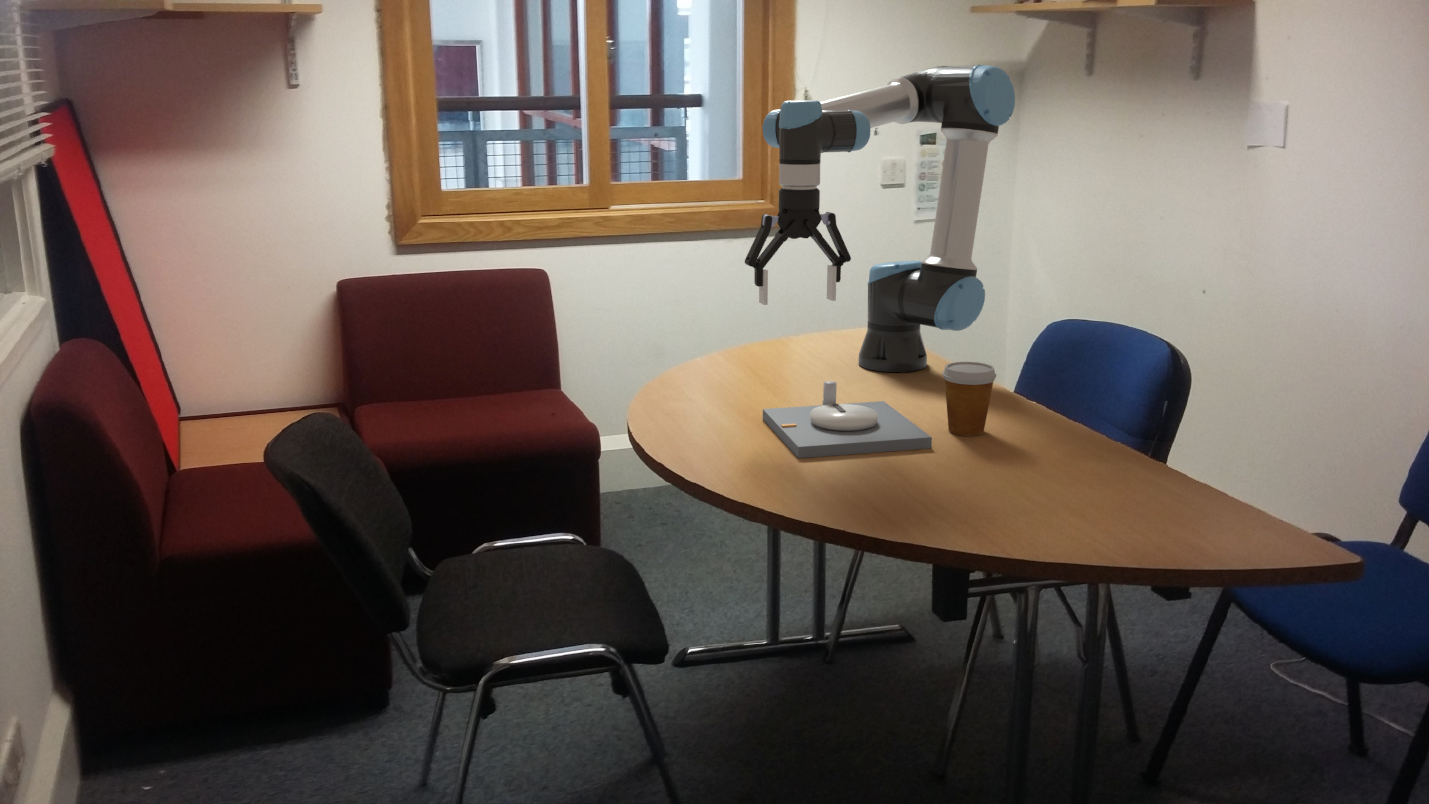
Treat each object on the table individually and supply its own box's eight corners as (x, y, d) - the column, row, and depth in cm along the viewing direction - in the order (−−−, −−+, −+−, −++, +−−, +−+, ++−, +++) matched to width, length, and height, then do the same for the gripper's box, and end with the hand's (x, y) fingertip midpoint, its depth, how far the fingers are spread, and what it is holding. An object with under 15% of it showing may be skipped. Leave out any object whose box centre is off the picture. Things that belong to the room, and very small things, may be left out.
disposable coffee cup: (993, 440, 206) (997, 374, 203) (938, 437, 208) (942, 372, 204) (992, 425, 215) (996, 362, 212) (939, 422, 217) (942, 359, 213)
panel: (883, 411, 224) (883, 399, 224) (931, 448, 202) (931, 435, 201) (762, 419, 219) (762, 407, 219) (798, 458, 197) (798, 445, 196)
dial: (886, 428, 206) (887, 400, 204) (821, 432, 203) (822, 405, 202) (857, 404, 221) (858, 378, 219) (796, 408, 218) (796, 382, 217)
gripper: (854, 183, 220) (851, 294, 226) (728, 187, 213) (728, 301, 219) (870, 187, 213) (866, 301, 219) (740, 190, 206) (740, 308, 212)
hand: (797, 301), depth 219 cm, fingers open, 13 cm apart
